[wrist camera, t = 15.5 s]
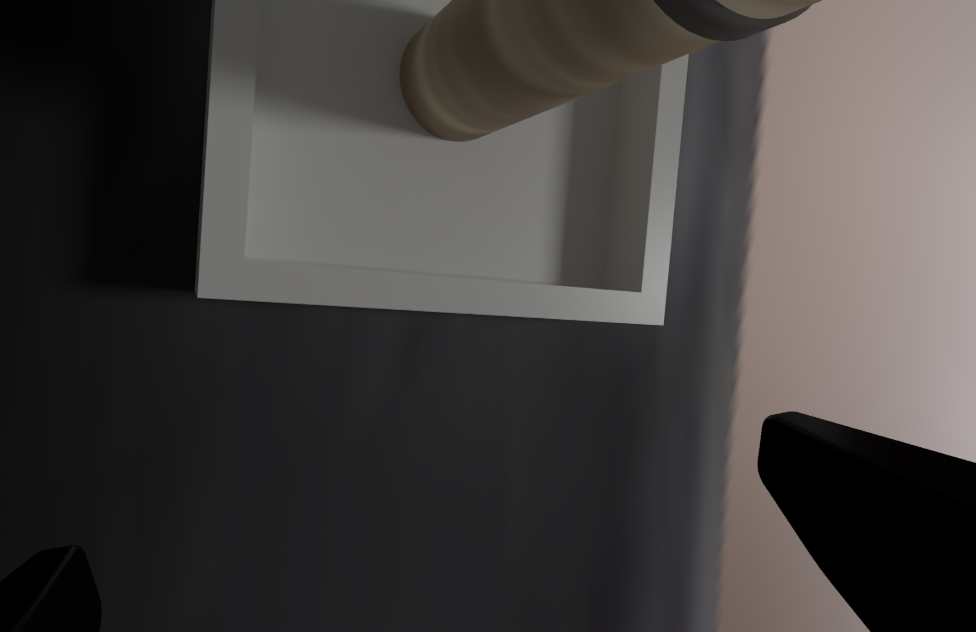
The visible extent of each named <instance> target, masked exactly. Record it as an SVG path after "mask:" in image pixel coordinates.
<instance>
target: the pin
mask: <svg viewBox="0 0 976 632" xmlns="http://www.w3.org/2000/svg"><path fill="white" fill-rule="evenodd" d="M819 1H821V0H451V1H450V2H449V3H448V4H447V5H446V6H445V7H444V8H443V9H442V10H441V11H440V12H439V13H438V14H437V15H435V16H434V17H433V18H432V19H431V20H430V21H429V22H428V23H427V24H426V25H425V26H424V27H423V28H422V29H421V30H420V31H418V32H417V33H416V34H415V36H414V37H413V38H412V39H411V40H410V42H409V43H408V45H407V47H406V49H405V51H404V53H403V56H402V59H401V64H400V86H401V91H402V94H403V98H404V100H405V103H406V105H407V107H408V109H409V111H410V112H411V114H412V115H413V117H414V118H415V119H416V120H417V122H418V123H419V124H420V125H421V126H422V127H424V128H425V129H426V130H427V131H429V132H430V133H432V134H433V135H435V136H437V137H439V138H442V139H445V140H448V141H454V142H465V141H471V140H475V139H478V138H480V137H483V136H485V135H488V134H490V133H493V132H495V131H497V130H500V129H502V128H505V127H507V126H510V125H512V124H515V123H517V122H520V121H522V120H525V119H527V118H530V117H532V116H535V115H537V114H540V113H542V112H545V111H547V110H550V109H552V108H555V107H557V106H560V105H562V104H565V103H567V102H570V101H572V100H575V99H577V98H580V97H582V96H585V95H587V94H590V93H592V92H595V91H597V90H600V89H602V88H605V87H607V86H610V85H612V84H615V83H617V82H620V81H622V80H625V79H627V78H630V77H632V76H635V75H637V74H640V73H642V72H645V71H647V70H650V69H652V68H655V67H657V66H660V65H662V64H665V63H667V62H670V61H672V60H675V59H677V58H680V57H682V56H685V55H687V54H690V53H692V52H695V51H697V50H700V49H702V48H705V47H707V46H710V45H712V44H715V43H717V42H720V41H734V40H739V39H742V38H746V37H749V36H751V35H754V34H757V33H759V32H762V31H764V30H767V29H769V28H772V27H775V26H777V25H780V24H782V23H785V22H787V21H789V20H791V19H794V18H796V17H797V16H799V15H800V14H802V13H803V12H805V11H806V10H807V9H808V8H809V7H810V6H811V5H812V4H814V3H816V2H819Z"/></svg>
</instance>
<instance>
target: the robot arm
mask: <svg viewBox="0 0 976 632" xmlns="http://www.w3.org/2000/svg"><path fill="white" fill-rule="evenodd" d="M758 472H759V475H760V478H761V480H762V482H763V484H764V485H765V487H766V488H767V490H768V491H769V493H770V494H771V496H772V497H773V499H774V500H775V502H776V504H777V505H778V507H779V508H780V510H781V511H782V513H783V514H784V516H785V517H786V519H787V520H788V522H789V523H790V524H791V526H792V528H793V529H794V531H795V532H796V534H797V535H798V537H799V538H800V540H801V541H802V543H803V544H804V546H805V547H806V549H807V550H808V552H809V553H810V555H811V556H812V558H813V559H814V561H815V562H816V563H817V565H818V566H819V568H820V569H821V570H822V571H823V573H824V574H825V576H826V577H827V578H828V580H829V581H830V582H831V583H832V585H833V586H834V587H835V588H836V590H837V591H838V592H839V593H840V595H841V596H842V597H843V598H844V600H845V601H846V602H847V603H848V604H849V606H850V607H851V608H852V609H853V611H854V612H855V613H856V615H857V616H858V617H859V618H860V619H861V620H862V622H863V623H864V624H865V626H866V627H867V628H868V629H869V631H870V632H976V463H974V462H971V461H967V460H964V459H960V458H957V457H953V456H950V455H946V454H943V453H939V452H936V451H932V450H928V449H925V448H922V447H918V446H914V445H911V444H907V443H904V442H900V441H897V440H894V439H890V438H886V437H883V436H879V435H876V434H872V433H869V432H865V431H862V430H858V429H855V428H851V427H848V426H844V425H841V424H837V423H834V422H830V421H827V420H823V419H820V418H816V417H813V416H809V415H806V414H802V413H799V412H785V413H779V414H774V415H770V416H768V417H767V418H766V419H765V420H764V422H763V426H762V432H761V439H760V448H759V455H758ZM101 614H102V609H101V600H100V596H99V593H98V590H97V587H96V584H95V581H94V578H93V575H92V572H91V569H90V566H89V563H88V560H87V557H86V554H85V552H84V551H83V549H82V548H81V547H79V546H77V545H69V546H64V547H58V548H53V549H48V550H43V551H40V552H38V553H36V554H35V555H34V556H32V557H31V558H30V559H28V560H27V561H26V562H25V563H23V564H22V565H21V566H20V567H18V568H17V569H16V570H15V571H13V572H12V573H11V574H10V575H8V576H7V577H6V578H5V579H3V580H2V581H1V582H0V632H99V630H100V624H101Z"/></svg>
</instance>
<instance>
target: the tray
mask: <svg viewBox="0 0 976 632" xmlns="http://www.w3.org/2000/svg"><path fill="white" fill-rule="evenodd" d="M450 1H451V0H212V7H211V24H210V41H209V58H208V74H207V91H206V108H205V125H204V141H203V158H202V175H201V191H200V208H199V225H198V242H197V258H196V275H195V294H196V296H197V298H212V299H229V300H245V301H262V302H279V303H296V304H313V305H330V306H347V307H364V308H381V309H398V310H414V311H431V312H448V313H465V314H482V315H499V316H516V317H533V318H550V319H567V320H583V321H600V322H617V323H634V324H651V325H663V324H664V313H665V302H666V291H667V281H668V270H669V259H670V248H671V238H672V227H673V216H674V205H675V195H676V184H677V173H678V162H679V152H680V141H681V130H682V119H683V109H684V98H685V87H686V76H687V66H688V55H689V54H687V55H685V56H682V57H680V58H677V59H675V60H672V61H670V62H667V63H665V64H662V65H660V66H657V67H655V68H652V69H650V70H647V71H645V72H642V73H640V74H637V75H635V76H632V77H630V78H627V79H625V80H622V81H620V82H617V83H615V84H612V85H610V86H607V87H605V88H602V89H600V90H597V91H595V92H592V93H590V94H587V95H585V96H582V97H580V98H577V99H575V100H572V101H570V102H567V103H565V104H562V105H560V106H557V107H555V108H552V109H550V110H547V111H545V112H542V113H540V114H537V115H535V116H532V117H530V118H527V119H525V120H522V121H520V122H517V123H515V124H512V125H510V126H507V127H505V128H502V129H500V130H497V131H495V132H493V133H490V134H488V135H485V136H483V137H480V138H478V139H475V140H471V141H465V142H454V141H448V140H445V139H442V138H439V137H437V136H435V135H433V134H432V133H430V132H429V131H427V130H426V129H425V128H424V127H422V126H421V125H420V124H419V123H418V122H417V120H416V119H415V118H414V117H413V115H412V114H411V112H410V111H409V109H408V107H407V105H406V103H405V100H404V98H403V94H402V91H401V86H400V64H401V59H402V56H403V53H404V51H405V49H406V47H407V45H408V43H409V42H410V40H411V39H412V38H413V37H414V36H415V34H416V33H417V32H418V31H420V30H421V29H422V28H423V27H424V26H425V25H426V24H427V23H428V22H429V21H430V20H431V19H432V18H433V17H434V16H435V15H437V14H438V13H439V12H440V11H441V10H442V9H443V8H444V7H445V6H446V5H447V4H448V3H449V2H450Z"/></svg>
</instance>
